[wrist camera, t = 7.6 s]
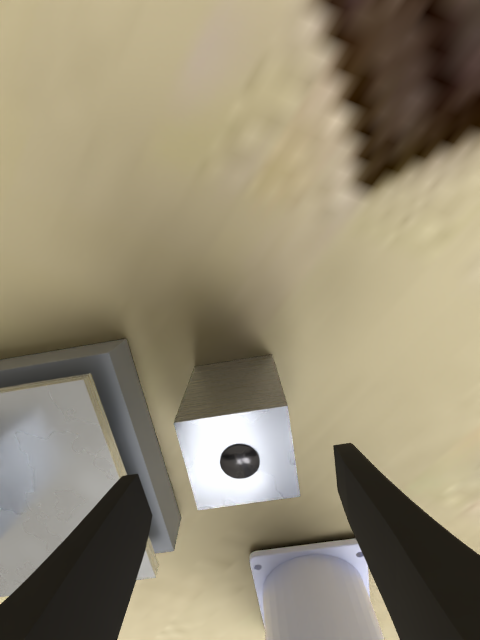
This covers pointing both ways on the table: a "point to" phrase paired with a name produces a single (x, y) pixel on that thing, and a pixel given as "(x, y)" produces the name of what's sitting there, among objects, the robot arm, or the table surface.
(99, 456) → the pan
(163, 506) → the scale housing
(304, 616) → the robot arm
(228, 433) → the block
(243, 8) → the table surface
